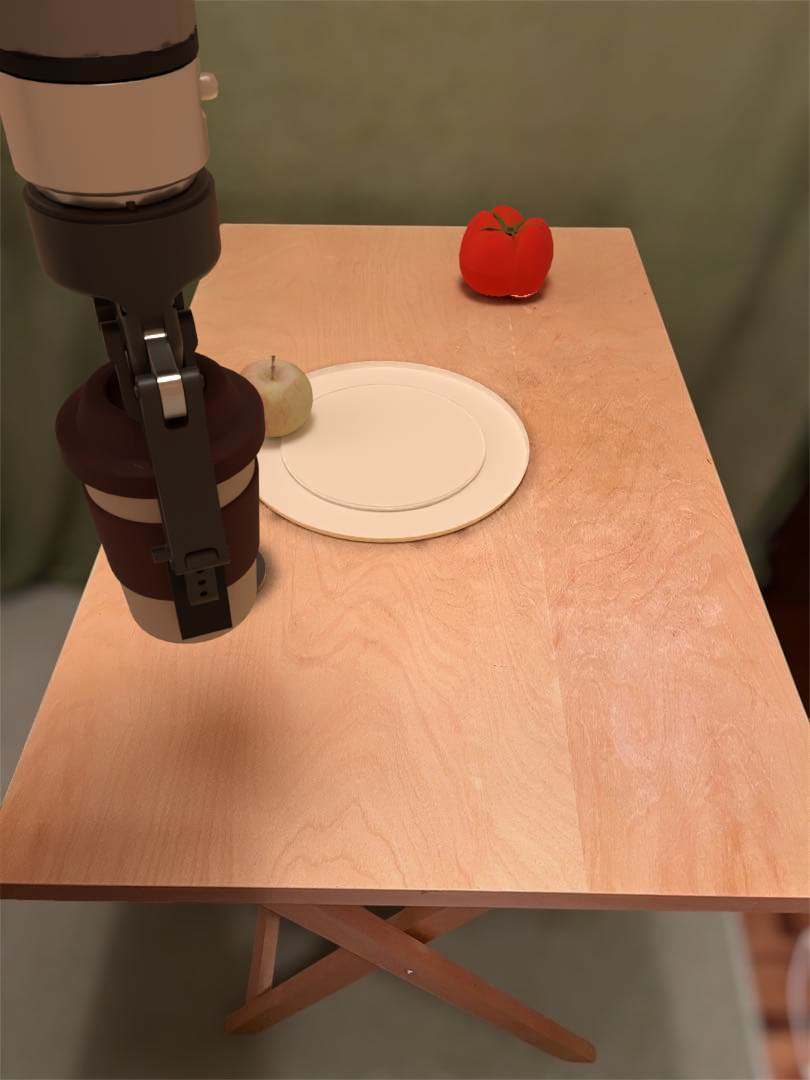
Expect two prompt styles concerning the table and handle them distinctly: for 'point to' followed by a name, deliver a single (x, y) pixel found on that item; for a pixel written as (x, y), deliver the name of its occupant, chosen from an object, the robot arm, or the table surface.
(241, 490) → the coffee cup
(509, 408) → the plate
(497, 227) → the tomato
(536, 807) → the table surface
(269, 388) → the fruit
